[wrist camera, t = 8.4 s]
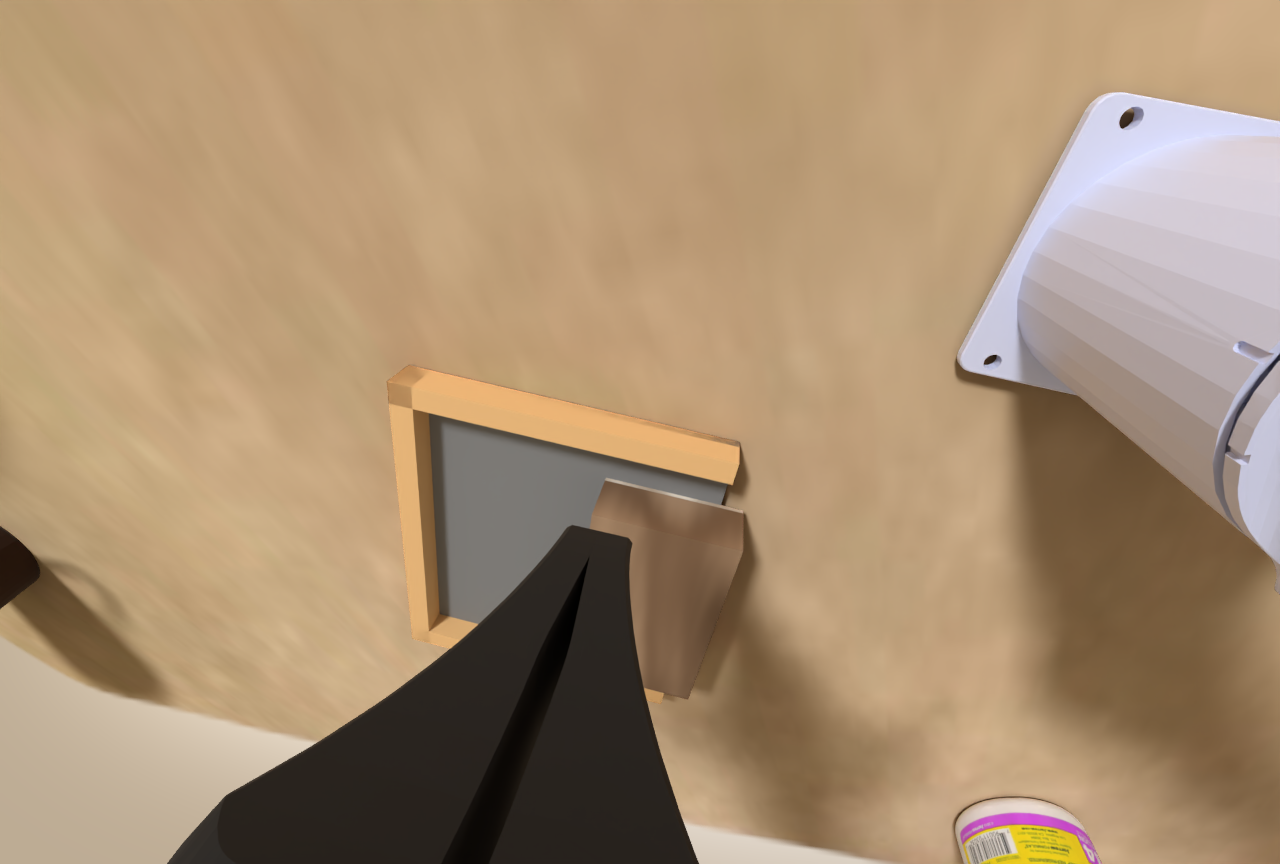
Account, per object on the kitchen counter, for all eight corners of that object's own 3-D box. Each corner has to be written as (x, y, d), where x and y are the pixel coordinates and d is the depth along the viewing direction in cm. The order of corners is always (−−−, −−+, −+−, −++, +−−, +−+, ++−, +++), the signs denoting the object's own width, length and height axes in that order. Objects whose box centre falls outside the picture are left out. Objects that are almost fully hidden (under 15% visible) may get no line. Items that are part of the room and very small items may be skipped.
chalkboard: (739, 441, 21) (739, 463, 20) (664, 677, 30) (660, 704, 28) (408, 365, 22) (386, 381, 21) (427, 615, 31) (412, 638, 29)
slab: (743, 551, 20) (591, 514, 21) (688, 699, 26) (568, 668, 26) (743, 510, 22) (606, 477, 23) (692, 655, 28) (581, 626, 28)
